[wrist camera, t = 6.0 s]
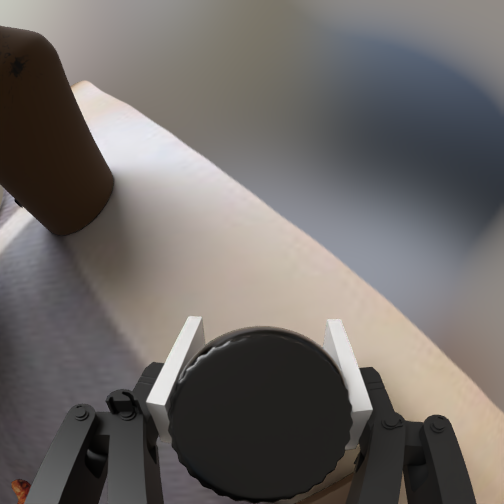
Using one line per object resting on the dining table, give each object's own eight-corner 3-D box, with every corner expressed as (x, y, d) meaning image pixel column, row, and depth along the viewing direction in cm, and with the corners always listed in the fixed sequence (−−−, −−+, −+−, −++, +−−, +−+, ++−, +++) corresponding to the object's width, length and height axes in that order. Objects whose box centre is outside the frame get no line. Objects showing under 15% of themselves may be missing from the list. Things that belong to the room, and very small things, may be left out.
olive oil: (126, 152, 29) (48, -44, 6) (112, 230, 24) (-33, -18, 2) (54, 175, 28) (-36, 20, 6) (33, 249, 24) (-108, 80, 1)
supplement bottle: (255, 331, 19) (248, 246, 8) (334, 390, 17) (435, 383, 6) (188, 404, 17) (88, 417, 6) (268, 467, 14) (278, 565, 4)
